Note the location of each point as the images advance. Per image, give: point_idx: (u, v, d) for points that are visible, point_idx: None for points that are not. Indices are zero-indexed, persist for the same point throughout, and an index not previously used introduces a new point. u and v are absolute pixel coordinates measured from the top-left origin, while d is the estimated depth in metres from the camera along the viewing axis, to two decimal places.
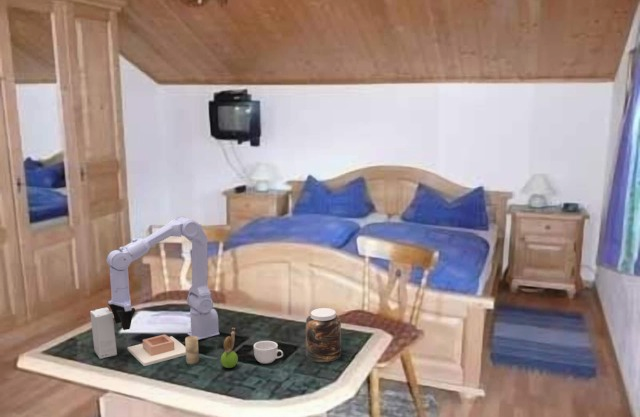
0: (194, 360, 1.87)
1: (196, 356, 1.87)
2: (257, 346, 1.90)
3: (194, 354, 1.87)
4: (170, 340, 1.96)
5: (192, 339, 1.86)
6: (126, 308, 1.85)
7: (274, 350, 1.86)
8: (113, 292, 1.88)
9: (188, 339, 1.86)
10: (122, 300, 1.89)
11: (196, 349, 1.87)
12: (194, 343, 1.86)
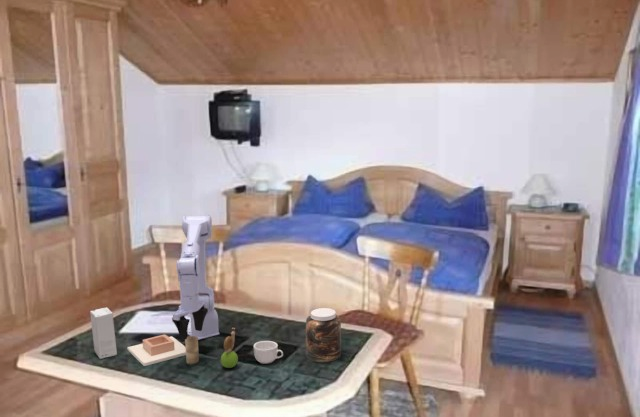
0: (194, 360, 1.87)
1: (196, 356, 1.87)
2: (257, 346, 1.90)
3: (194, 354, 1.87)
4: (170, 340, 1.96)
5: (192, 339, 1.86)
6: (173, 316, 1.80)
7: (274, 350, 1.86)
8: None
9: (188, 339, 1.86)
10: (183, 308, 1.83)
11: (196, 349, 1.87)
12: (194, 343, 1.86)
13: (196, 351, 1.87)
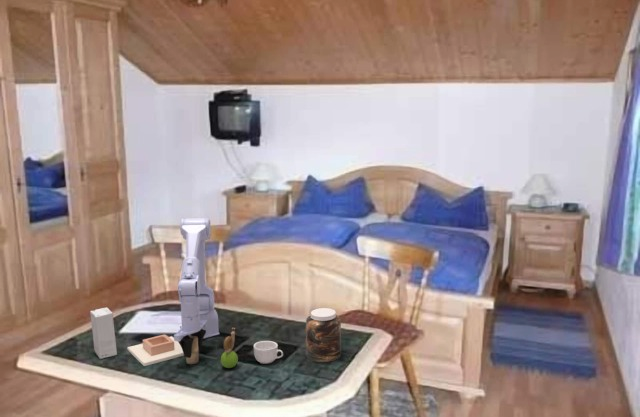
0: (194, 360, 1.87)
1: (196, 356, 1.87)
2: (257, 346, 1.90)
3: (194, 354, 1.87)
4: (170, 340, 1.96)
5: None
6: (174, 338, 1.81)
7: (274, 350, 1.86)
8: None
9: None
10: (184, 328, 1.84)
11: (196, 349, 1.87)
12: (194, 343, 1.86)
13: (196, 351, 1.87)
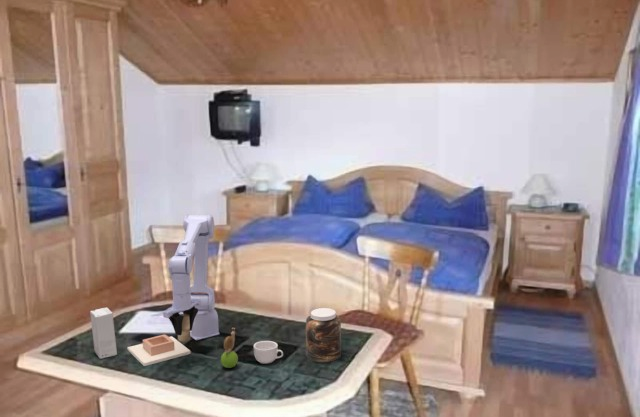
0: (185, 338, 1.87)
1: (187, 334, 1.88)
2: (257, 346, 1.90)
3: (185, 332, 1.87)
4: (170, 340, 1.96)
5: (183, 317, 1.87)
6: (164, 314, 1.82)
7: (274, 350, 1.86)
8: None
9: None
10: (175, 306, 1.85)
11: (187, 327, 1.87)
12: (184, 320, 1.86)
13: (187, 329, 1.88)
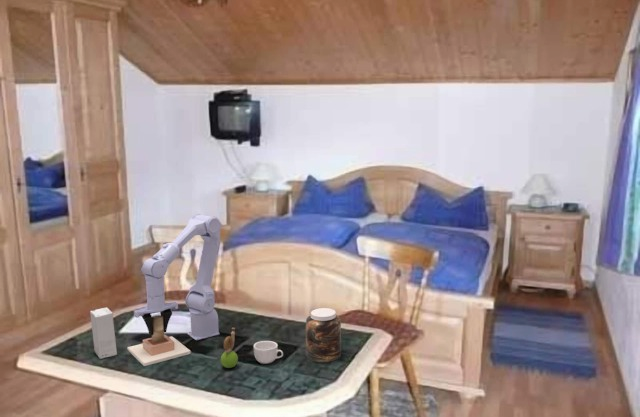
0: (156, 339, 1.94)
1: (159, 335, 1.94)
2: (257, 346, 1.90)
3: (157, 333, 1.93)
4: (170, 340, 1.96)
5: (156, 318, 1.93)
6: (134, 313, 1.90)
7: (274, 350, 1.86)
8: None
9: (153, 317, 1.94)
10: (147, 307, 1.92)
11: (159, 328, 1.93)
12: (156, 322, 1.93)
13: (159, 330, 1.93)
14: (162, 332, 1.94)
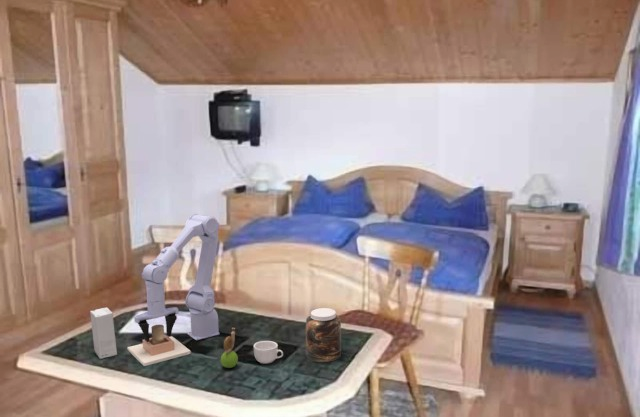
0: None
1: None
2: (257, 346, 1.90)
3: (157, 343, 1.94)
4: (170, 340, 1.96)
5: (156, 328, 1.94)
6: None
7: (274, 350, 1.86)
8: None
9: (153, 327, 1.94)
10: (148, 312, 1.93)
11: (159, 338, 1.94)
12: (156, 331, 1.93)
13: (159, 340, 1.94)
14: (163, 341, 1.95)
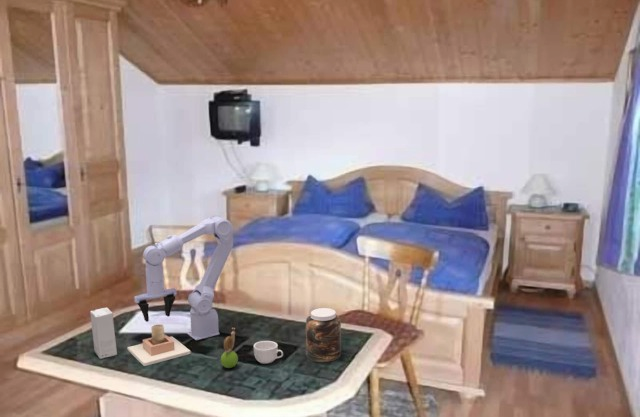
0: None
1: None
2: (257, 346, 1.90)
3: (157, 343, 1.94)
4: (170, 340, 1.96)
5: (156, 328, 1.94)
6: (134, 299, 1.97)
7: (274, 350, 1.86)
8: None
9: (153, 327, 1.94)
10: (147, 293, 1.99)
11: (159, 338, 1.94)
12: (156, 331, 1.93)
13: (159, 340, 1.94)
14: (163, 341, 1.95)
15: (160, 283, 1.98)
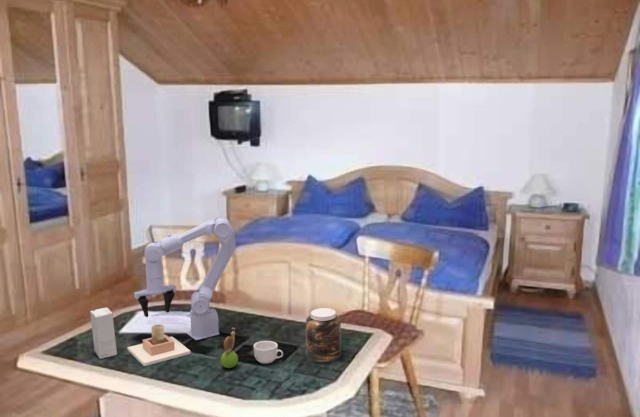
0: None
1: None
2: (257, 346, 1.90)
3: (157, 343, 1.94)
4: (170, 340, 1.96)
5: (156, 328, 1.94)
6: (134, 295, 2.01)
7: (274, 350, 1.86)
8: None
9: (153, 327, 1.94)
10: (147, 289, 2.03)
11: (159, 338, 1.94)
12: (156, 331, 1.93)
13: (159, 340, 1.94)
14: (163, 341, 1.95)
15: (160, 279, 2.02)
